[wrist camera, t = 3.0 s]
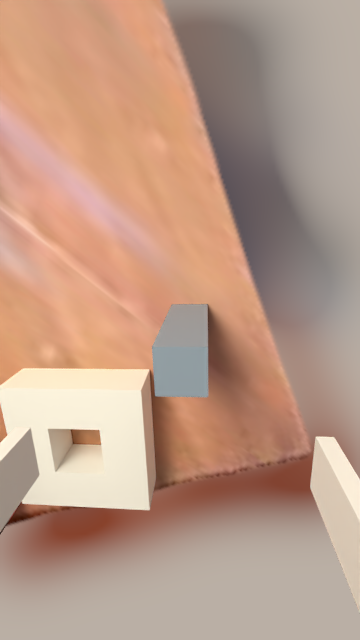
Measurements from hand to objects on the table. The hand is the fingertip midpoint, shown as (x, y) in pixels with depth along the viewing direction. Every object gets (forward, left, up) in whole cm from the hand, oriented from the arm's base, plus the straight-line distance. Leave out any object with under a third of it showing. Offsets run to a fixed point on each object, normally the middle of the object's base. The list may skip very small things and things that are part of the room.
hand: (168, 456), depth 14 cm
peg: (0, 0, -22) cm, 22 cm away
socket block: (-13, -14, -22) cm, 29 cm away
